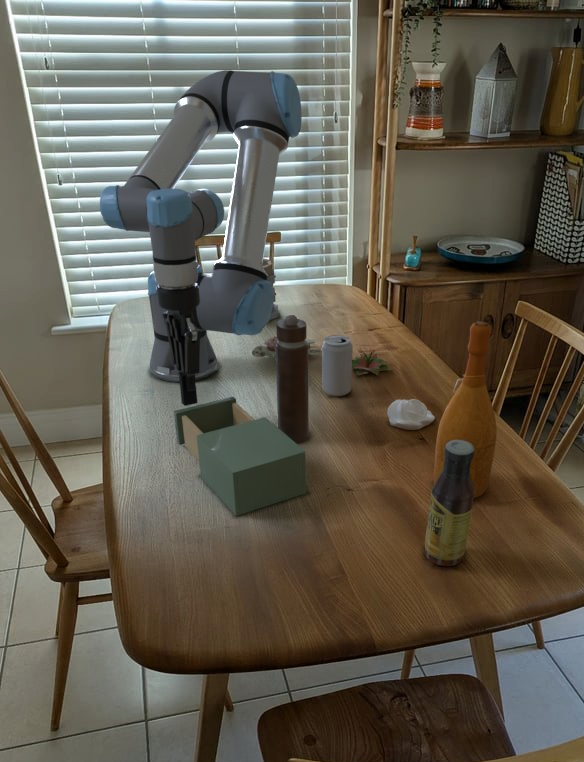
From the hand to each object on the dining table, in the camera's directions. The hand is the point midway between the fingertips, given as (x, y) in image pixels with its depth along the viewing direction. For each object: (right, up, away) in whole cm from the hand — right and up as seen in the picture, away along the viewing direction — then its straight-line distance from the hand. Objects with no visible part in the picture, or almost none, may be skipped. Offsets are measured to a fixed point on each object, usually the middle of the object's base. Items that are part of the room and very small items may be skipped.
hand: (189, 403), depth 144 cm
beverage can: (+29, +5, +16) cm, 34 cm away
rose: (+44, -3, +6) cm, 45 cm away
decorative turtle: (+17, +16, +32) cm, 40 cm away
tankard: (+7, +30, +52) cm, 61 cm away
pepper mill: (+21, -6, -1) cm, 22 cm away
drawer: (+7, -10, -7) cm, 14 cm away
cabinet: (+14, -17, -16) cm, 27 cm away
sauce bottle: (+46, -29, -32) cm, 62 cm away
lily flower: (+36, +12, +27) cm, 47 cm away
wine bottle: (+51, -17, -15) cm, 56 cm away
